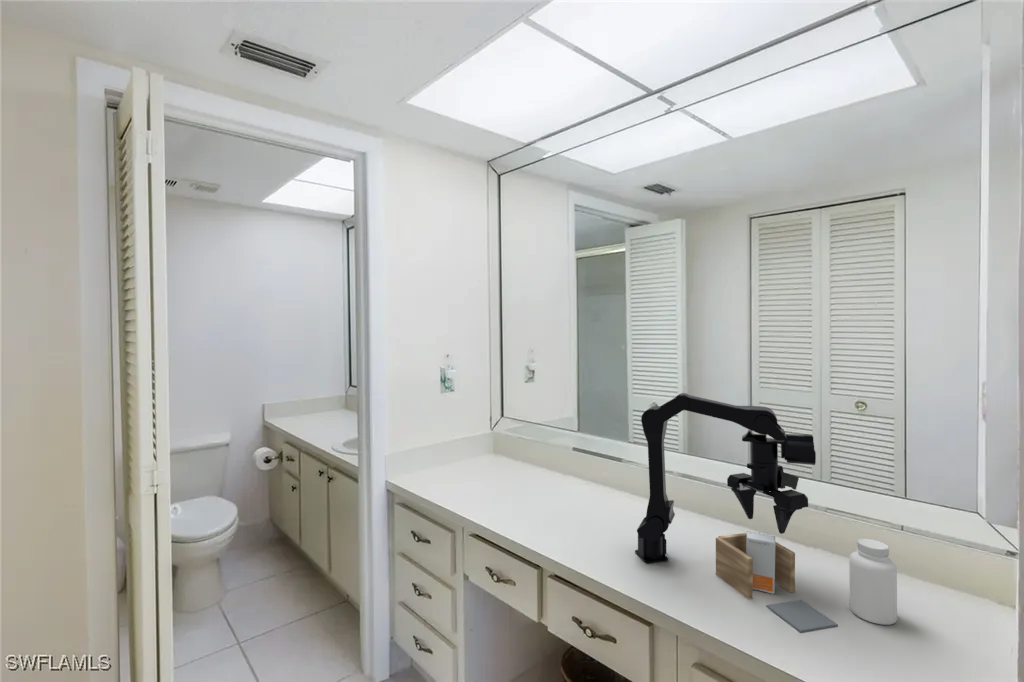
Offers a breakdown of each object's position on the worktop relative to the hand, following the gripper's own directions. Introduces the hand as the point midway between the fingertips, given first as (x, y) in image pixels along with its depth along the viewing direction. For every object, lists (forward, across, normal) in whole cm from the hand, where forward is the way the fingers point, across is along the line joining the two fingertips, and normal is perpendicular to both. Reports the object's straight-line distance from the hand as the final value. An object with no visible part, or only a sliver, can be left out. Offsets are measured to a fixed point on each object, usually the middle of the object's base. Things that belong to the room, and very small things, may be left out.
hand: (765, 525), depth 113 cm
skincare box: (+13, -2, +4) cm, 14 cm away
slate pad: (+13, -13, +5) cm, 19 cm away
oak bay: (+13, 0, +4) cm, 14 cm away
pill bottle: (+14, -18, -10) cm, 24 cm away
